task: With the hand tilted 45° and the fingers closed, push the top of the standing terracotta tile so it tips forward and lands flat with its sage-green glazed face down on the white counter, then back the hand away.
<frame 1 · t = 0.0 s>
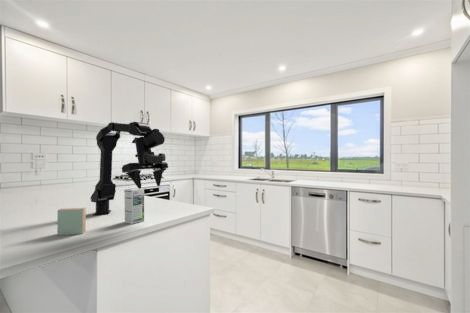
hand: (149, 187, 87), 15 cm above the counter, tool pointing down, fingers open, 9 cm apart
syrup box: (134, 222, 91), on the counter
tile: (71, 233, 77), on the counter
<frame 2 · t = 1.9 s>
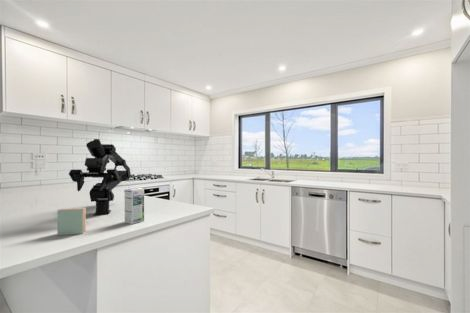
hand: (89, 190, 90), 14 cm above the counter, tool tilted 45°, fingers open, 8 cm apart
nothing on the counter moved.
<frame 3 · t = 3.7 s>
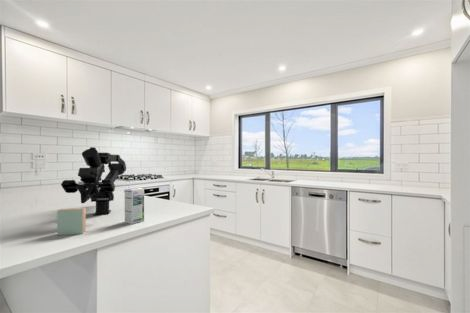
hand: (82, 202, 84), 9 cm above the counter, tool tilted 45°, fingers closed
nothing on the counter moved.
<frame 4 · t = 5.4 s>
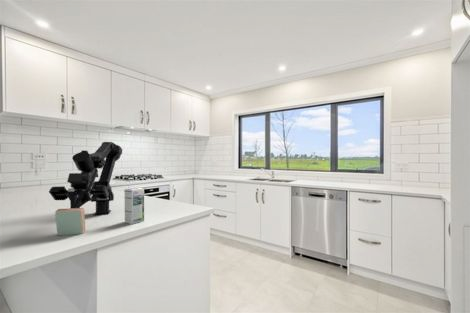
hand: (72, 211, 77), 8 cm above the counter, tool tilted 45°, fingers closed
tile: (71, 233, 77), on the counter, tilted 9°
everything else where it was.
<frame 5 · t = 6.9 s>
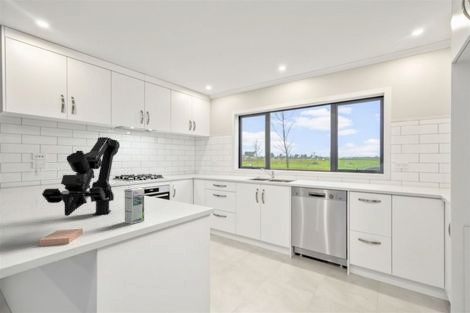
hand: (66, 215, 73), 8 cm above the counter, tool tilted 45°, fingers closed
tile: (69, 232, 76), point 1 cm above the counter, tilted 90°
everything else where it was.
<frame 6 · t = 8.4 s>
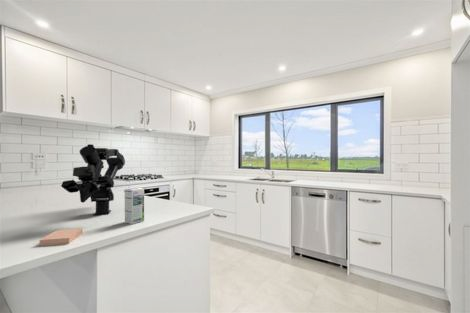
hand: (82, 202, 84), 10 cm above the counter, tool tilted 40°, fingers closed
nothing on the counter moved.
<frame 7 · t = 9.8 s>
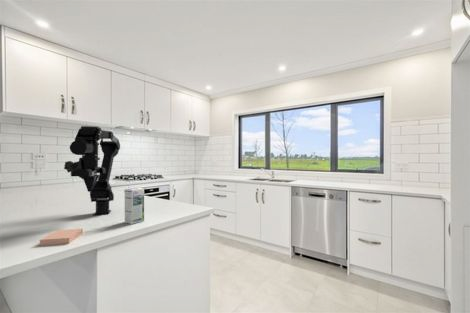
hand: (89, 191, 91), 13 cm above the counter, tool pointing down, fingers closed
nothing on the counter moved.
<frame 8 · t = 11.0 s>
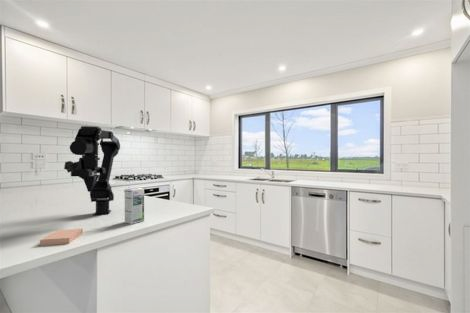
hand: (89, 191, 91), 13 cm above the counter, tool pointing down, fingers closed
nothing on the counter moved.
at the end: tile tilted 90°; tile inside the target area (1.9 cm from its centre), point 0.7 cm above the counter; the gripper is holding nothing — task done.
